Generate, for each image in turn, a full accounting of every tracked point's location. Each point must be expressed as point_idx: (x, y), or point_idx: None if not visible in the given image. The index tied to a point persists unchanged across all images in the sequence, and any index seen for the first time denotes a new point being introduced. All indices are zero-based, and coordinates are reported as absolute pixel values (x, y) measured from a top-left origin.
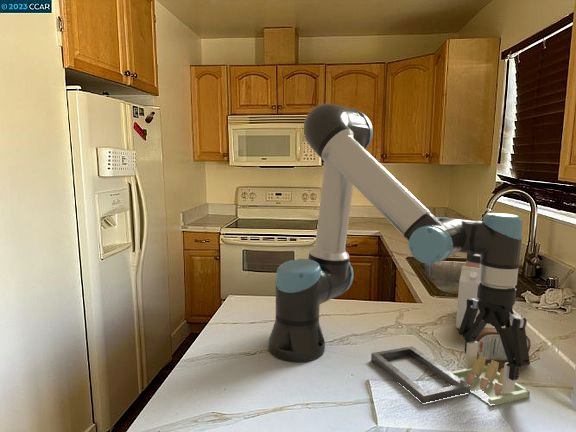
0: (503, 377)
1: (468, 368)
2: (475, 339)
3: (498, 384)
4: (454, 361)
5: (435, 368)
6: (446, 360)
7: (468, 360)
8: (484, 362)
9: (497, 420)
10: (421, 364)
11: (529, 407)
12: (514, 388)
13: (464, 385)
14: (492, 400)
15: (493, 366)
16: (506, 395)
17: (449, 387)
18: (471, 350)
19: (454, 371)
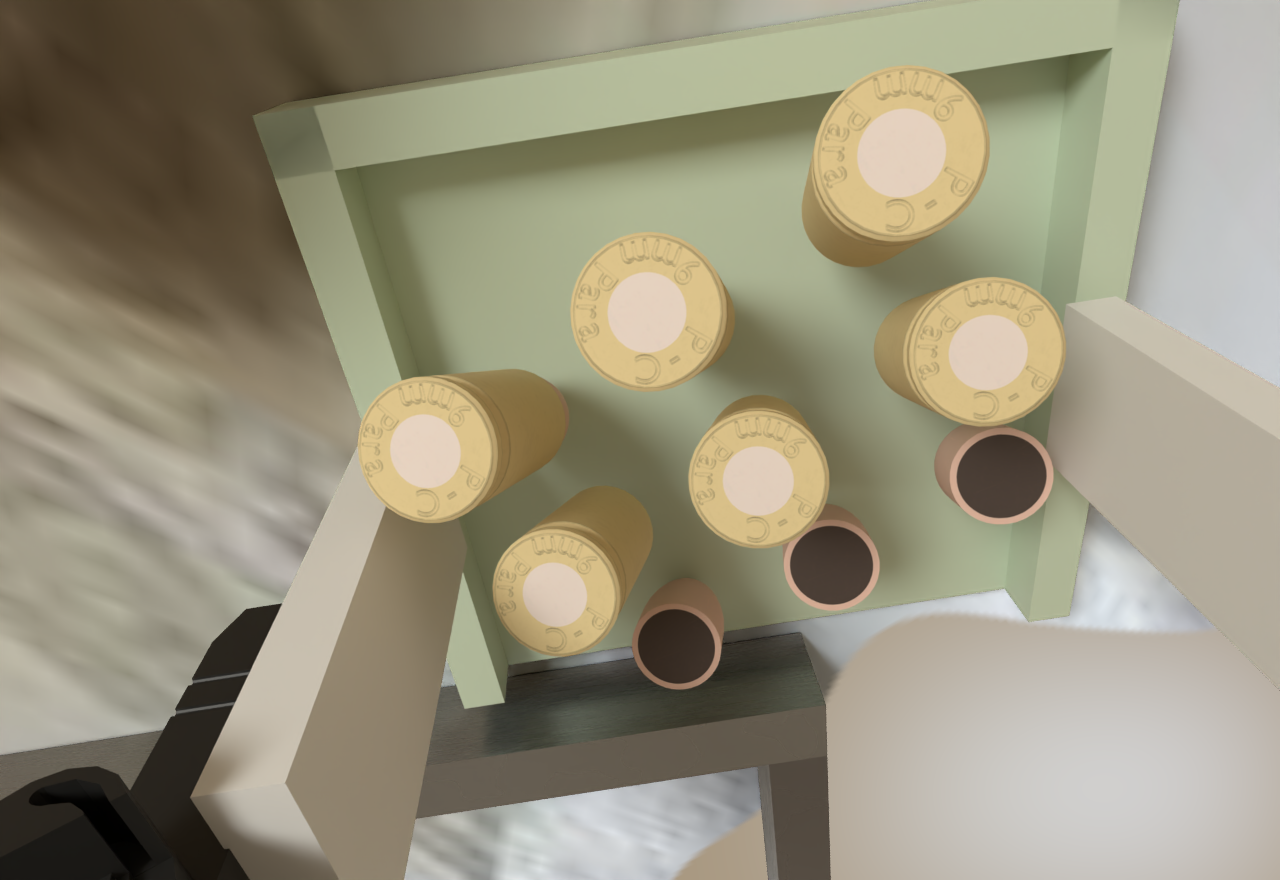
0: (1180, 587)
1: (462, 542)
2: (160, 837)
3: (1026, 513)
4: (28, 408)
5: None
6: (15, 495)
7: (445, 640)
8: (521, 422)
9: (1188, 629)
10: None
11: (1251, 186)
12: (1146, 314)
13: (803, 750)
14: (1067, 602)
15: (825, 494)
16: None
17: (789, 862)
18: (400, 753)
19: (457, 661)
